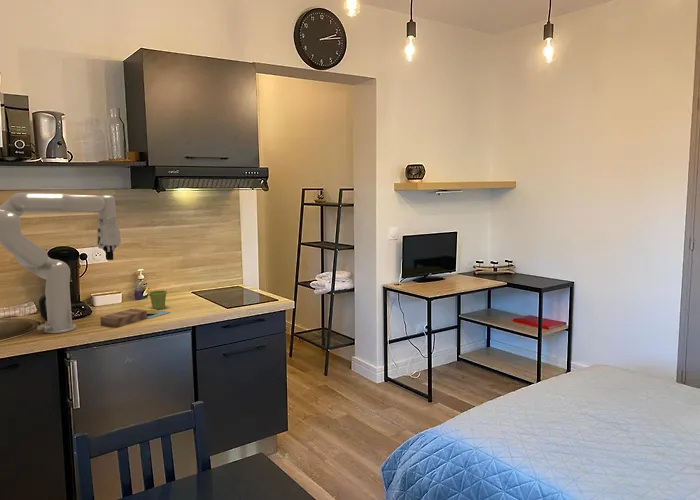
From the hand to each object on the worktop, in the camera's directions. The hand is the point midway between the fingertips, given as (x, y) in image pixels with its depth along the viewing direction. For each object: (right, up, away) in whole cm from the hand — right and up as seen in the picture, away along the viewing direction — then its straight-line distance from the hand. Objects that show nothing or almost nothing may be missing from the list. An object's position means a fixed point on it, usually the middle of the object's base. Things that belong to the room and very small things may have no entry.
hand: (109, 259), depth 252 cm
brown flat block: (+8, -30, -3) cm, 31 cm away
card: (+14, -27, +9) cm, 32 cm away
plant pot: (+14, -26, +25) cm, 39 cm away
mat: (+15, -28, +12) cm, 34 cm away
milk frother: (-22, -30, -1) cm, 37 cm away
